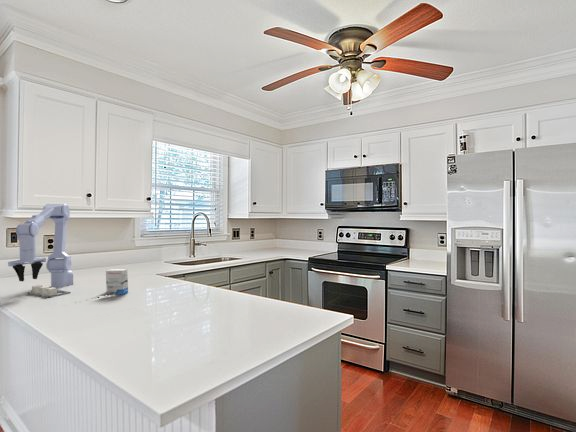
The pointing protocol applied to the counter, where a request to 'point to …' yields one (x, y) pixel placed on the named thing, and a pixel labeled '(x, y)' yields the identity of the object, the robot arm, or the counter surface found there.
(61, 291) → the grey divided tray
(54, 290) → the off-white rectangular block
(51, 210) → the robot arm
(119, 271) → the ink box
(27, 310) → the counter surface
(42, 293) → the cream rectangular block
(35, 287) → the off-white rectangular block
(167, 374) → the counter surface
